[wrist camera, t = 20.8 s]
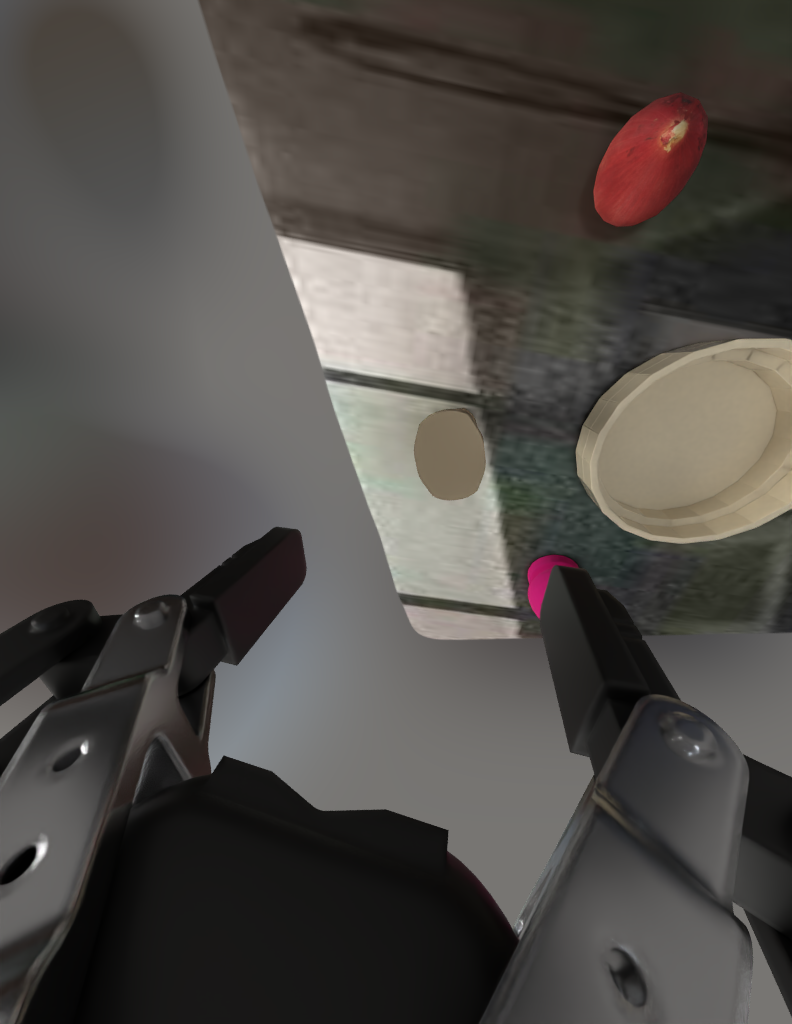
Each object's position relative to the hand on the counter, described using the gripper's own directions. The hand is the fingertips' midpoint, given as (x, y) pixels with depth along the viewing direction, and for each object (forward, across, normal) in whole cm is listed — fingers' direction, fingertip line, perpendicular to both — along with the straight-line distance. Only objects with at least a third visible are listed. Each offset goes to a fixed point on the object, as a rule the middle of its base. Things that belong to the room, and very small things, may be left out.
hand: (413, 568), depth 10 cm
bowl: (+28, -21, +1) cm, 35 cm away
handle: (+28, 0, 0) cm, 28 cm away
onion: (+28, -11, -18) cm, 35 cm away
